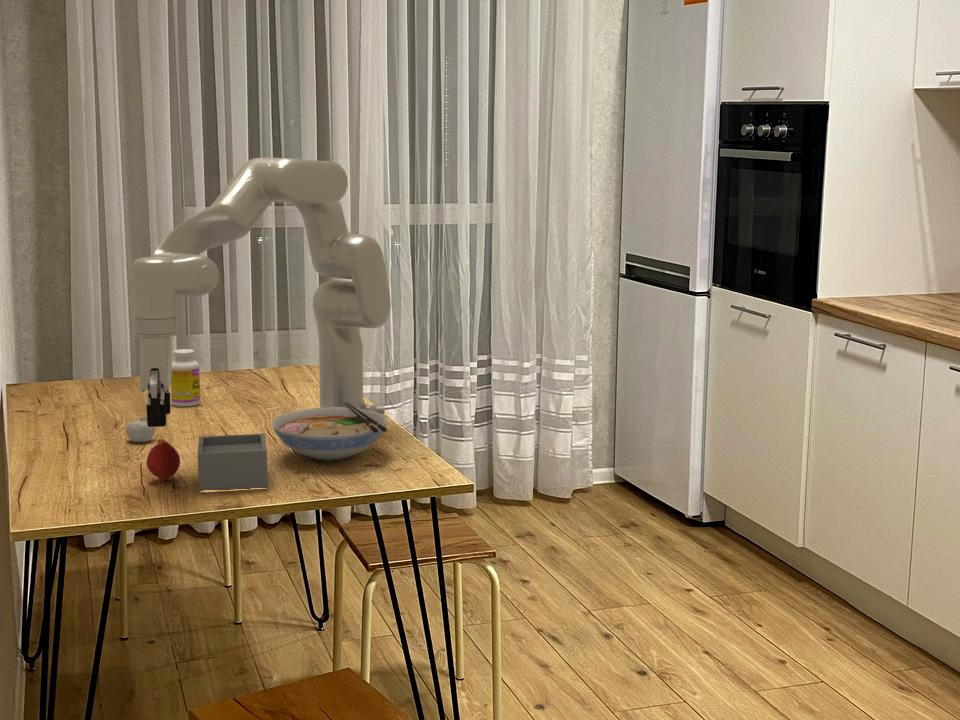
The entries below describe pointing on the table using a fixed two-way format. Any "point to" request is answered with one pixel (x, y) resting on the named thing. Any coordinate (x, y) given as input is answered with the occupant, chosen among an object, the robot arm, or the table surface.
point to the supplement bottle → (185, 379)
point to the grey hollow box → (232, 462)
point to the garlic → (140, 431)
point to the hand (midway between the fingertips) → (159, 420)
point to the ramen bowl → (330, 431)
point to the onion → (163, 460)
